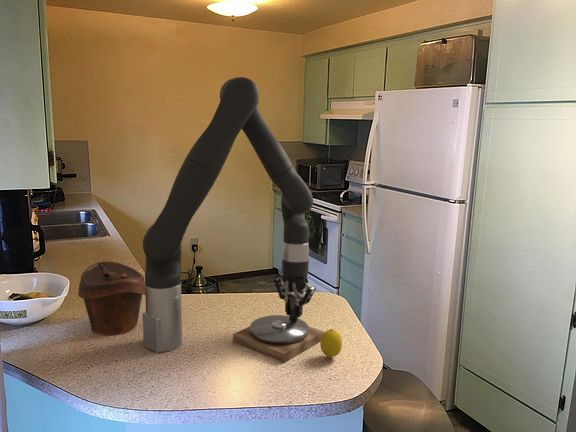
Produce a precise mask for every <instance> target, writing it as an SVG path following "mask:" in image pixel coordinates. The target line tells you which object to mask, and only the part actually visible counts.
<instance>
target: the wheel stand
mask: <svg viewBox="0 0 576 432" xmlns="http://www.w3.org/2000/svg"><path fill="white" fill-rule="evenodd" d="M324 332H325V331H324V330H321V329H318V328H315V327H311V326H309V325H308V335H307V337H306V338H305V339H303V340H301V341H299V342H296V343H291V344H269V343H264V342H261V341H259V340H257V339H255V338H254V337H252V335H251V333H250V325H249V326H247V327H245V328H243V329H241V330H238V331H236V332H234V333H233V334H232V343H234V344H236V345H238V346H241V347H242V348H246V349H248V350H251V351H253V352H255V353H258V354H261V355H262V356H266V357H268V358H270V359H273V360H275V361H278V362H281V363H283V364H285V363H287V362H289V361H290V360H292V359H294V358H295V357H297V356H298V355H300V354H302V353H304V352H306V351H308V350H309V349H310V348H313V347H314V346H316V345H317V344H319V343H321V338H322V335H323V333H324Z"/></svg>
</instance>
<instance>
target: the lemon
mask: <svg viewBox="0 0 576 432" xmlns="http://www.w3.org/2000/svg"><path fill="white" fill-rule="evenodd" d="M319 343H320V349H321V352H322V354H323V355H325V356H326V357H328V358H329V359H332V358H334V357H336V356H338V355H339V354H340V352H341V350H342V347H343V339H342V336H341V334H340V332H339V331H337V330H336V329H334V328H330V329H327V330H326V331H324V333H323V335H322V338H321V342H319Z"/></svg>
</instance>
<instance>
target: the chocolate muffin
mask: <svg viewBox="0 0 576 432" xmlns="http://www.w3.org/2000/svg"><path fill="white" fill-rule="evenodd" d="M78 285H79V286H78V289H77V290H78V293H77V295H78V297H80V298H81V299H83V302H84V306H85V309H86V313H87V317H88V322H89V323H90V328H91V331H92V332H93V333H94V334H97V335H102V336H118V335H123V334H127V333H128V332H130V331H132V330H135V328H136V327H137V325H138V322H139V316H140V310H141V309H140V308H141V305H142V301H143V296H145V276H143V275H142V274H141V273H140V272H139V271H137V270H136V269H134V268H132V267H130V266H128V265H125V264H122V263H119V262H114V261H98V262H95V263H94V264H91V265H90V266H89V267H87V268H86V269H85V270H84V271H83V272H82V274H81V276H80V279H79V283H78Z"/></svg>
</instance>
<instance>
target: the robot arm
mask: <svg viewBox="0 0 576 432" xmlns="http://www.w3.org/2000/svg"><path fill="white" fill-rule="evenodd" d="M219 91H220V92H219V100H220V101H219V103H218V106H217V108H216V110H215V112H214V114H213V116H212V119H211V120H210V122H209V124H208V126H207V127H206V129H205V130H204V131H203V132H202V133H201V135H200V136H199V137H198V138H197V140H196V141H195V143H194V144H193V145H192V146H191V149H190V150H189V152H188V153H187V154H186V157H185V158H184V160H183V162H182V164H181V166H180V167H179V168H180V169H179V170H178V173H177V175H176V177H175V179H174V182H173V183H172V186H171V189H170V191H169V195H168V197H167V199H166V200H167V201H166V202H165V205H164V207H163V209H162V210H161V211H160V214H159V215H158V217H157V218H156V220H155V221H154V223H152V225H151V226H150V227H149V228H148V229H147V230H146V232H145V234H144V237H143V238H142V248H143V249H142V250H143V252H144V254H145V271H144V281H145V295H144V296H145V311H144V312H143V313H142V337H143V341H142V342H143V344H142V345H143V347H144V348H147V349H148V350H150V351H152V352H155V353H157V354H159V353H162V352H170V351H173V350H174V351H175V350H176V349H178V348H180V346H182V343H183V336H182V335H183V332H182V331H183V330H182V329H183V328H182V325H183V324H182V317H183V316H182V242H183V239H184V236H185V235H186V231H187V228H188V227H189V225H190V223H191V220H192V219H193V217H194V216H195V214H196V213H197V211H198V209H199V208H200V207H201V205H202V204H203V203H204V201H205V199H206V197H207V196H208V195H209V193H210V191H211V189H212V187H213V186H214V185H215V183H216V181H217V178H218V177H219V175H220V173H221V171H222V169H223V167H224V166H225V163H226V160H227V159H228V157H229V155H230V152H231V150H232V148H233V145H234V143H235V141H236V139H237V137H238V136H239V134H240V132H241V130H242V131H243V133H244V135H245V136H246V138H247V139H248V141H249V143H250V144H251V146H252V148H253V150H254V152H255V154H256V155H257V157H258V159H259V161H260V163H261V165H262V166H263V168H264V170H265V171H266V174H267V175H268V176H269V178H270V180H271V182H272V183H273V184H274V185H275V186H276V187H277V188H278V189H279V190H280V192H281V193H282V194H281V198H280V203H281V204H280V206H281V214H282V221H283V239H282V241H283V242H282V249H281V250H282V251H281V252H282V253H281V254H282V255H281V274H282V275H281V276H280V277H278V278H274V281H273V282H274V285H275V287H276V290H277V294H278V296H279V299H281V300H283V301H284V303H285V304H284V306H285V307H284V311H285V314H286V315H285V316H289V313H290V295H294V298H295V304H296V305H295V318H299V319H300V317H302V315H303V307H304V305H306V304H309V303H310V301H311V299H312V297H313V295H314V294H315V292H316V289H317V288H316V286H315V285H313V286H312V285H311V284H309V279H308V275H309V262H310V245H309V239H310V238H309V237H310V236H309V235H310V229H309V228H310V227H309V223H308V222H307V221H306V216H305V214H306V213H308V212H310V210H311V209H312V208H313V205H314V196H313V194H312V192H311V189H310V188H309V186H308V185H307V184H306V183H305V181H304V180H303V179H302V177H301V176H300V175H299V174H298V172H297V171H296V168H295V167H294V164H293V163H292V161H291V158H290V157H289V156H288V154H287V152H286V150H285V149H284V148H283V146H282V144H281V142H279V140H278V139H277V138H276V135H274V133H273V132H272V130H271V129H270V128H269V126H268V124H267V123H266V121H265V120H264V117H263V115H262V113H261V111H260V109H259V107H258V104H259V102H260V92H259V88H258V86H257V84H256V83H255V81H253V80H252V79H250V78H249V77H243V76H237V77H232V78H230V79H228V80H226V81H225V82H224V83H223V84H222V85H221V88H220V90H219Z"/></svg>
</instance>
